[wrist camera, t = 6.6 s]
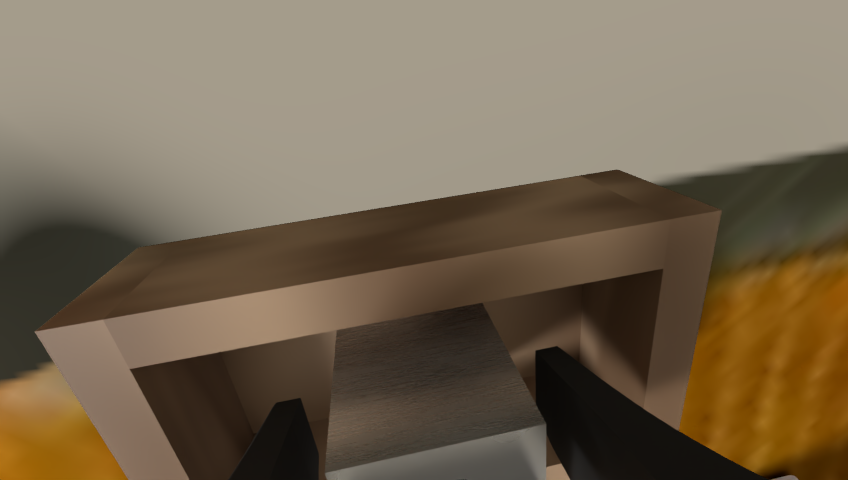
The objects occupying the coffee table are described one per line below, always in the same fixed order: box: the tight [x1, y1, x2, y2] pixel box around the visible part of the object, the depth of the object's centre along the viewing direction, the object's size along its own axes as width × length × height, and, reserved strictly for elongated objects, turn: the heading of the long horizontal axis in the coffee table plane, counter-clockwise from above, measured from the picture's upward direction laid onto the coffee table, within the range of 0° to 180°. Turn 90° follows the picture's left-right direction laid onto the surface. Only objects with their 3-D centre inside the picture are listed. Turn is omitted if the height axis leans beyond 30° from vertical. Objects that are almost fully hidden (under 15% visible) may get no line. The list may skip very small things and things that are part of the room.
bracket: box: [325, 303, 546, 480], centre depth 10 cm, size 4×4×7 cm
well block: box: [35, 170, 722, 480], centre depth 12 cm, size 14×8×4 cm, turn 97°
